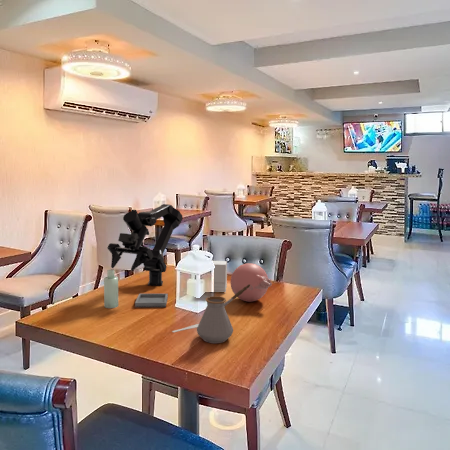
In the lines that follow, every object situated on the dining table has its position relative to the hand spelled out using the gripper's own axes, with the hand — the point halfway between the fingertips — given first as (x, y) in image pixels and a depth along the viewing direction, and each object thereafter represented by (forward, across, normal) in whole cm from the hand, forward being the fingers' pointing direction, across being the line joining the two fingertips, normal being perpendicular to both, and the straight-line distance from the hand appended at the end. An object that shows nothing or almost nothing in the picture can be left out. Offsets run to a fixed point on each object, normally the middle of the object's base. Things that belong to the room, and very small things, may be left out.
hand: (121, 268), depth 162 cm
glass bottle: (+14, 0, +4) cm, 15 cm away
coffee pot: (+20, +50, -1) cm, 54 cm away
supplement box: (-11, +30, +30) cm, 43 cm away
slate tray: (+7, +12, +11) cm, 18 cm away
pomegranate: (-5, +48, +23) cm, 54 cm away
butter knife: (+24, +33, -5) cm, 41 cm away
